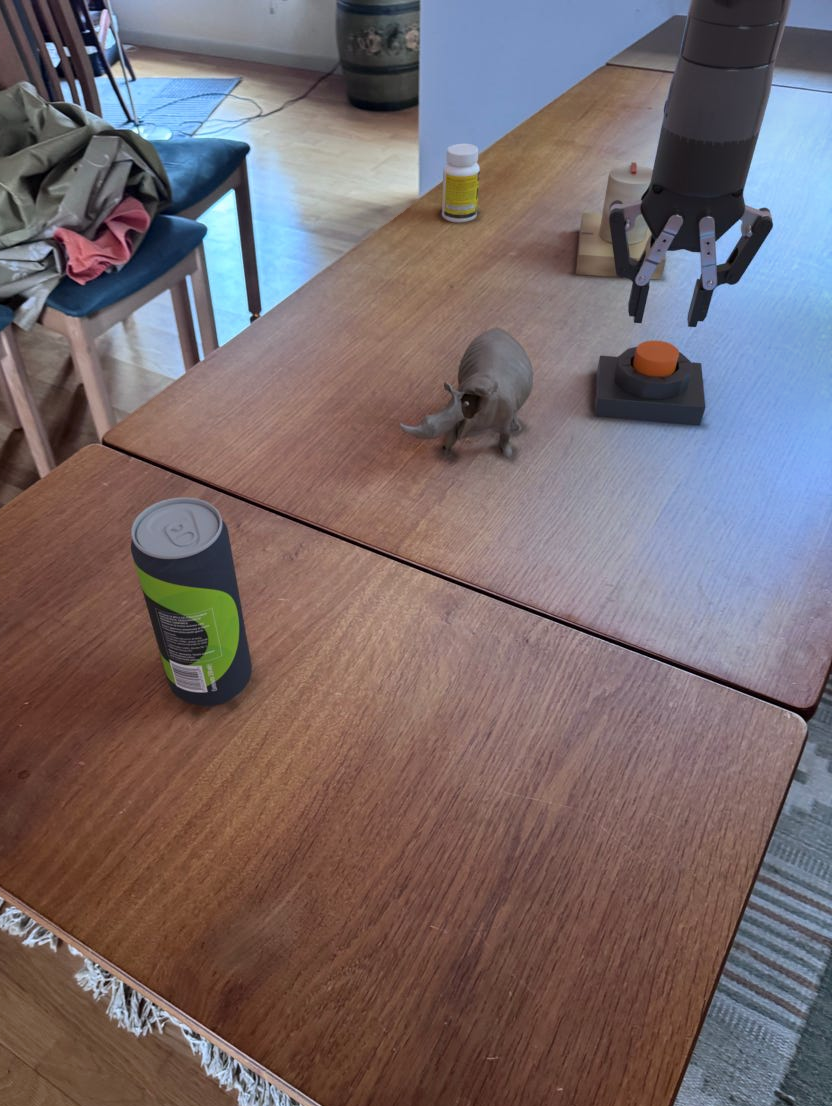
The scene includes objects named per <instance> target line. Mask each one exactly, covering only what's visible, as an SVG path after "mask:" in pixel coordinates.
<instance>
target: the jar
mask: <svg viewBox="0 0 832 1106" xmlns="http://www.w3.org/2000/svg"><path fill="white" fill-rule="evenodd" d="M652 172H653V168H651V167H648V166H643V165H637V162H631V164H627V165H619V166H616V167H613V168H612V169H610V171H609V172H608V177H607V184H606V189H605V195H604V201H603V208H602V213H601V214H602V219H601V225H600V231H599V235H600V237H601V238H602V239H604V240H606V241H608V242H611V243H612V238H611V231H610V223H609V208H610V204H611V203H612V202H613V201H615V200H620V201H622V202H623V204H624V203H628V202H633V201H637V200H641V198H642V195H643V194H644V193H645V191H646V190H647V189H648V187H649V185H650V182H651V177H652ZM647 230H648V226H647V224H646V222H645V220H644V218H643V216H642V214H641V215H639V216H637V218H636V219H635V224H634V227H633V228H632V229H631V230H629V231H627V237H628V245H629V244H636V243H639V242H641V241H643V240H644V239H645V238H646V235H647Z"/></svg>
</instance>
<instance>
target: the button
mask: <svg viewBox="0 0 832 1106" xmlns="http://www.w3.org/2000/svg"><path fill="white" fill-rule="evenodd" d="M636 347H637V348H636V352H635V357H634V362H633V367H634V369H635V370H636V371H637V372H640V373H642V374H645V375H648V376H659V377H663V376H668V375H671V374H673V373H674V371H675V368H676V364H677V360H678V357H679V352H680V351H679V349H678V348H677V346H675V345H674V344H672V343H669V342H667V341H663V340H647V341H643V342H641V343H639V344H638V345H637V346H636Z"/></svg>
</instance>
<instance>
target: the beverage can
mask: <svg viewBox="0 0 832 1106" xmlns="http://www.w3.org/2000/svg"><path fill="white" fill-rule="evenodd" d="M130 536H131V542H130V553H131V554H132V559H133V562H134V566H135V570H136V574H137V577H138V580H139V584H140V587H141V592H142V595H143V598H144V602H145V605H146V608H147V612H148V615H149V619H150V623H151V627H152V630H153V633H154V638H155V641H156V644H157V648H158V650H159V651H158V652H159V654H160V657H161V661H162V664H163V668H164V672H165V676H166V679H167V682H168V686H169V688H170V690H171V691H172V693H173V694H174V696H176V697H177V698H179V699H180V700H181V701H183V702H185V703H188V704H191V705H195V706H200V707H213V706H215V707H216V706H219V705H222V704H225V703H227V702H229V701H231V700H232V699H234V698H235V697H236V696H238V695H239V694H240V693H241V692H243V690H245V688H246V687H247V685H248V684H249V682H250V680H251V677H252V672H253V667H252V666H253V665H252V659H251V653H250V649H249V643H248V637H247V630H246V627H245V626H246V624H245V618H244V613H243V609H242V602H241V596H240V591H239V590H240V589H239V586H238V579H237V574H236V567H235V563H234V562H235V561H234V557H233V549H232V546H231V545H232V544H231V540H230V539H231V538H230V533H229V529H228V526H227V524H226V522H225V521H224V520H223V518H222V515H221V513H220V511H219V510H218V509H217V507H215V506H214V505H213V504H211V503H210V502H208V501H206V500H203V499H200V498H196V497H188V496H186V497H185V496H184V497H183V496H180V497H172V498H171V497H170V498H167V499H163V500H160V501H158V502H155V503H153V504H151V505H149V506H148V507H146V508H145V509H143V510H142V511H141V512H140V513H139V514H138V515H137V516H136V517H135V519H134V520H133V523H132V525H131V529H130Z"/></svg>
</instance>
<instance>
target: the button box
mask: <svg viewBox="0 0 832 1106" xmlns="http://www.w3.org/2000/svg"><path fill="white" fill-rule="evenodd" d="M636 348H637V346H632V347H628V348H627V349H625V350H624V351H623V352H622V353H621V354H620V355H618V356H614V355H613V356H612V355H599V358H598V363H597V368H596V369H597V370H596V376H595V397H594V417H595V418H604V419H617V420H627V421H628V420H629V421H640V422H651V423H661V424H663V423H664V424H674V425H688V426H697V427H698V426H699V427H700V426H701V425H702V421H703V417H704V415H705V411H706V399H705V397H706V396H705V389H704V388H705V387H704V378H703V365H702V362H695V361H693V362H692V361H691V360H690V359H689V358H688V357H687V356H686V355H684V354H683V353H682V352H680V351H679V357H678V360H677V364H676V368H675V371H674V373H673V374H671V375H668V376H663V377H659V376H648V375H645V374H642V373H640V372H637V371H636V370H635V369H634V367H633V362H634V357H635V352H636Z"/></svg>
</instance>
